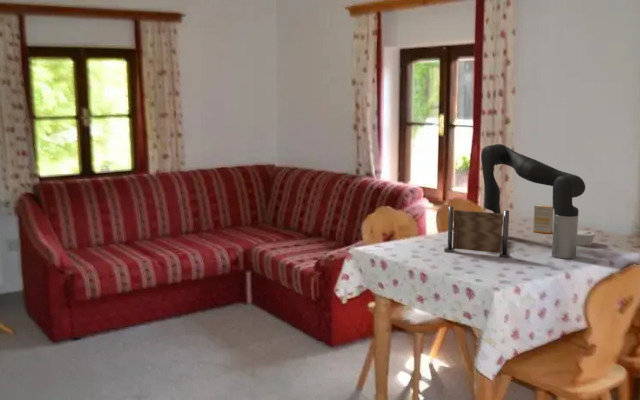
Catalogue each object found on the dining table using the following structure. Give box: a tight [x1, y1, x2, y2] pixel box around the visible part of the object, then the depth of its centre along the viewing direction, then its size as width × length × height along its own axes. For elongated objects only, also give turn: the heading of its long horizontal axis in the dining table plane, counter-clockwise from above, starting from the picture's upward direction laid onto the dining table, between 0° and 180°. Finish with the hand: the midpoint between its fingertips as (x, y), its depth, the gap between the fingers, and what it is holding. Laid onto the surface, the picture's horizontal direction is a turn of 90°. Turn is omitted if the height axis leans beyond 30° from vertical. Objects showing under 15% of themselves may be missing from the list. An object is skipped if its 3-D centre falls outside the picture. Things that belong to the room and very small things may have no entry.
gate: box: [452, 209, 504, 254], centre depth 274 cm, size 19×2×16 cm, turn 66°
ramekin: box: [576, 229, 596, 247], centre depth 294 cm, size 11×11×5 cm
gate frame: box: [443, 206, 511, 259], centre depth 274 cm, size 26×4×19 cm, turn 67°
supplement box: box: [532, 203, 554, 234], centre depth 318 cm, size 8×5×13 cm, turn 57°
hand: (477, 234), depth 279 cm, fingers closed
